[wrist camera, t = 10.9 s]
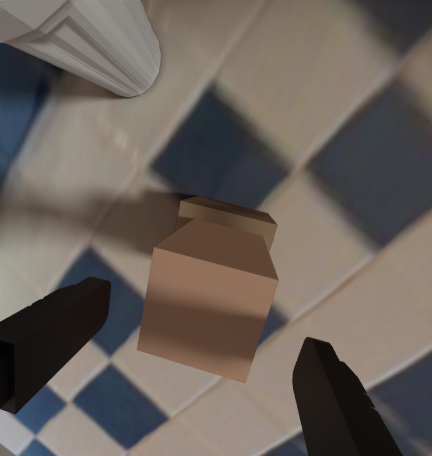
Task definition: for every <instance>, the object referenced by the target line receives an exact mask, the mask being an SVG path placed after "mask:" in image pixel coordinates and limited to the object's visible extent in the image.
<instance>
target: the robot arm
mask: <svg viewBox="0 0 432 456" xmlns="http://www.w3.org/2000/svg"><path fill="white" fill-rule="evenodd" d="M110 292H111V283H110V281H107V280H104V279H100V278H97V277H93V276H90V277H88V278H86V279H84V280H83V281H81V282H79V283H78V284H76V285H71V286H67V287H64V288H61V289H58V290H56V291H54V292H52V293H51V294H49V295H47V296H45V297H44V298H43V299H40V300H38V301H36V302H34V303H33V304H32V305H31V306H27V307H26V308H24V309H22V310H20V311H18V312H17V313H15V314H13V315H11V316H10V317H8V318H6V319H4V320H2V321H1V322H0V409H1V410H4V411H7V412H10V413H13V414H16V413H17V412H18V411H19V410H20V409H21V408H22V407H23V406H24V405H25V404H26V403H27V402H28V401H29V400H30V399H31V398H32V397H33V396H34V395H35V394H36V393H37V392H38V391H39V390H40V389H41V388H42V387H43V386H44V385H45V384H46V383H47V382H48V381H49V380H50V379H51V378H52V377H53V376H54V375H55V374H56V373H57V372H58V371H59V370H60V369H61V368H62V367H63V366H64V365H65V364H66V363H67V362H68V361H69V360H70V359H71V358H72V357H73V356H74V355H75V354H76V353H77V352H78V351H79V350H80V349H81V348H82V347H83V346H84V345H85V344H86V343H87V342H88V341H89V340H90V339H91V338H92V337H93V336H94V335H95V334H96V333H97V332H98V331H99V330H100V329H101V328H102V327H103V325H104V323H105V322H106V319H107V317H108V312H109V302H110ZM292 383H293V390H294V395H295V399H296V403H297V408H298V412H299V417H300V421H301V425H302V430H303V434H304V439H305V443H306V447H307V452H308V456H403V455H402V453H401V451H400V450H399V448H398V446H397V444H396V443H395V441H394V439H393V437H392V436H391V434H390V432H389V431H388V429H387V427H386V425H385V424H384V422H383V420H382V418H381V417H380V415H379V413H378V412H377V411H376V410H375V406H374V404H373V403H372V401H371V399H370V398H369V397H368V396H367V392H366V391H365V389H364V387H363V385H362V384H361V382H360V380H359V378H358V377H357V376H356V375H355V374H354V372H353V371H352V370H351V369H350V368H349V367H348V366H347V365H346V364H345V363H344V362H342V361H339V359H338V357H337V355H336V353H335V351H334V349H333V347H332V345H331V344H330V343H329V342H325V341H321V340H318V339H314V338H311V337H307V338H306V339H305V340H304V343H303V345H302V348H301V351H300V353H299V356H298V359H297V362H296V364H295V367H294V370H293V378H292Z"/></svg>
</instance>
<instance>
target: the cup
mask: <svg viewBox="0 0 432 456" xmlns="http://www.w3.org/2000/svg"><path fill="white" fill-rule="evenodd" d="M0 43H6V44H9V45H11V46H13V47H15V48H18V49H20V50H22V51H24V52H26V53H29V54H31V55H33V56H35V57H37V58H40V59H42V60H44V61H46V62H49V63H51V64H53V65H55V66H57V67H60V68H62V69H64V70H66V71H68V72H71V73H73V74H75V75H77V76H79V77H82V78H84V79H86V80H88V81H90V82H93V83H95V84H97V85H99V86H101V87H103V88H105V89H108V90H110V91H112V92H113V93H114V94H116V95H120V96H124V97H128V98H129V97H133V96H137V95H141V94H142V93H144V92H145V91H146V90H147V89H149V88H150V87H151V86H152V85H153V83H154V81H155V79H156V77H157V75H158V73H159V68H160V61H161V53H160V48H159V43H158V39H157V38H156V36H155V34H154V32H153V30H152V27H151V25H150V22H149V20H148V17H147V15H146V12H145V10H144V7H143V5H142V2H141V0H0Z"/></svg>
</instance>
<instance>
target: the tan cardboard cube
mask: <svg viewBox="0 0 432 456" xmlns="http://www.w3.org/2000/svg"><path fill="white" fill-rule="evenodd" d="M278 282H279V280H278V277H277V274H276V271H275V268H274V266H273V263H272V260H271V257H270V254H269V252H268V249H267V246H266V243H265V241H264V238H263V236H262V235H258V234H254V233H250V232H246V231H242V230H238V229H234V228H230V227H226V226H222V225H218V224H214V223H210V222H206V221H202V220H198V219H193V220H192V221H190V222H189V223H187V224H186V225H185V226H183V227H182V228H180V229H179V230H177V231H176V232H175V233H173V234H172V235H170V236H169V237H168V238H166V239H165V240H163V241H162V242H160V243H159V244H158V245H156V246H155V247H154V249H153V255H152V262H151V268H150V274H149V280H148V286H147V292H146V298H145V304H144V310H143V316H142V322H141V328H140V334H139V340H138V346H137V350H139V351H142V352H145V353H149V354H152V355H155V356H158V357H162V358H165V359H168V360H171V361H175V362H178V363H181V364H184V365H187V366H191V367H194V368H197V369H200V370H204V371H207V372H210V373H213V374H217V375H220V376H223V377H226V378H230V379H233V380H236V381H239V382H243V383H246V380H247V377H248V374H249V370H250V367H251V364H252V361H253V358H254V355H255V352H256V349H257V346H258V343H259V340H260V337H261V334H262V331H263V328H264V324H265V321H266V318H267V315H268V312H269V309H270V306H271V303H272V300H273V297H274V294H275V291H276V288H277V285H278Z"/></svg>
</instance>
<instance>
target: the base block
mask: <svg viewBox="0 0 432 456" xmlns="http://www.w3.org/2000/svg"><path fill="white" fill-rule="evenodd" d="M193 219H198V220H202V221H206V222H210V223H214V224H218V225H222V226H226V227H230V228H234V229H238V230H242V231H246V232H250V233H254V234H258V235H262V236H263V238H264V241H265V243H266V246H267V249H268V252H269V251H270V248H271V245H272V241H273V238H274V235H275V232H276V229H277V224H276V222H275V221H274V220H273V219H272V217H271V216H270V215H269V214H268V213H265V212H261V211H257V210H253V209H249V208H245V207H241V206H237V205H233V204H229V203H225V202H221V201H217V200H213V199H209V198H205V197H201V196H196V197H192V198H188V199H185V200H181V201H180V207H179V212H178V217H177V222H176V228H175V232H176V231H177V230H179V229H180V228H182V227H183V226H185V225H186V224H187V223H189V222H190V221H192V220H193Z"/></svg>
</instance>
